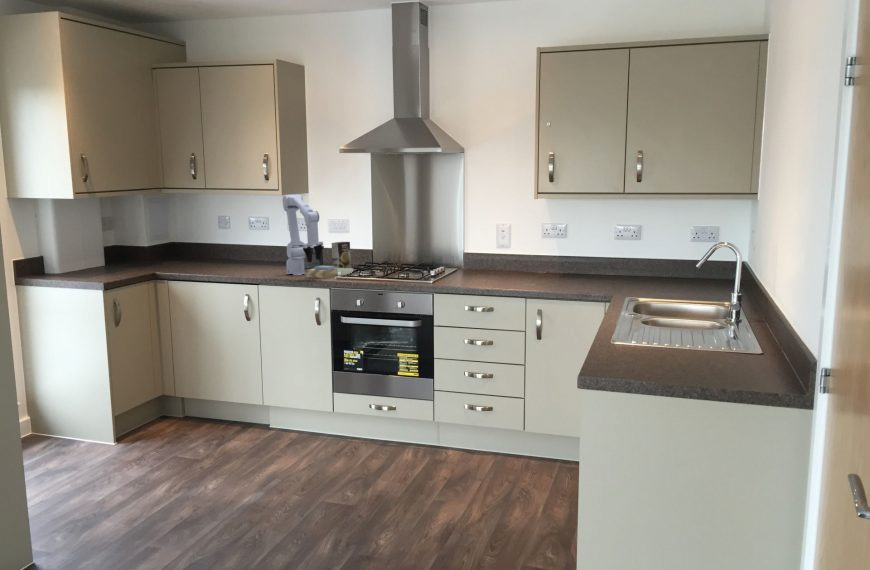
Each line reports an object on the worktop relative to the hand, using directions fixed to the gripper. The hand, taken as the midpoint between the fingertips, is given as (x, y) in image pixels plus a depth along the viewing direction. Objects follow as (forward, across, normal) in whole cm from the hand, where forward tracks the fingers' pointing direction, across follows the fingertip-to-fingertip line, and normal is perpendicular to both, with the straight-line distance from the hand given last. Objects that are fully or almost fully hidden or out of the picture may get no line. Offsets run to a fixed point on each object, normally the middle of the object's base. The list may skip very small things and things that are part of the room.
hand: (314, 260), depth 383 cm
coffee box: (+10, +32, +6) cm, 35 cm away
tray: (+10, +20, 0) cm, 22 cm away
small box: (+10, +34, +27) cm, 44 cm away
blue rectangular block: (+6, +8, 0) cm, 10 cm away
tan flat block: (+10, +8, +2) cm, 13 cm away
